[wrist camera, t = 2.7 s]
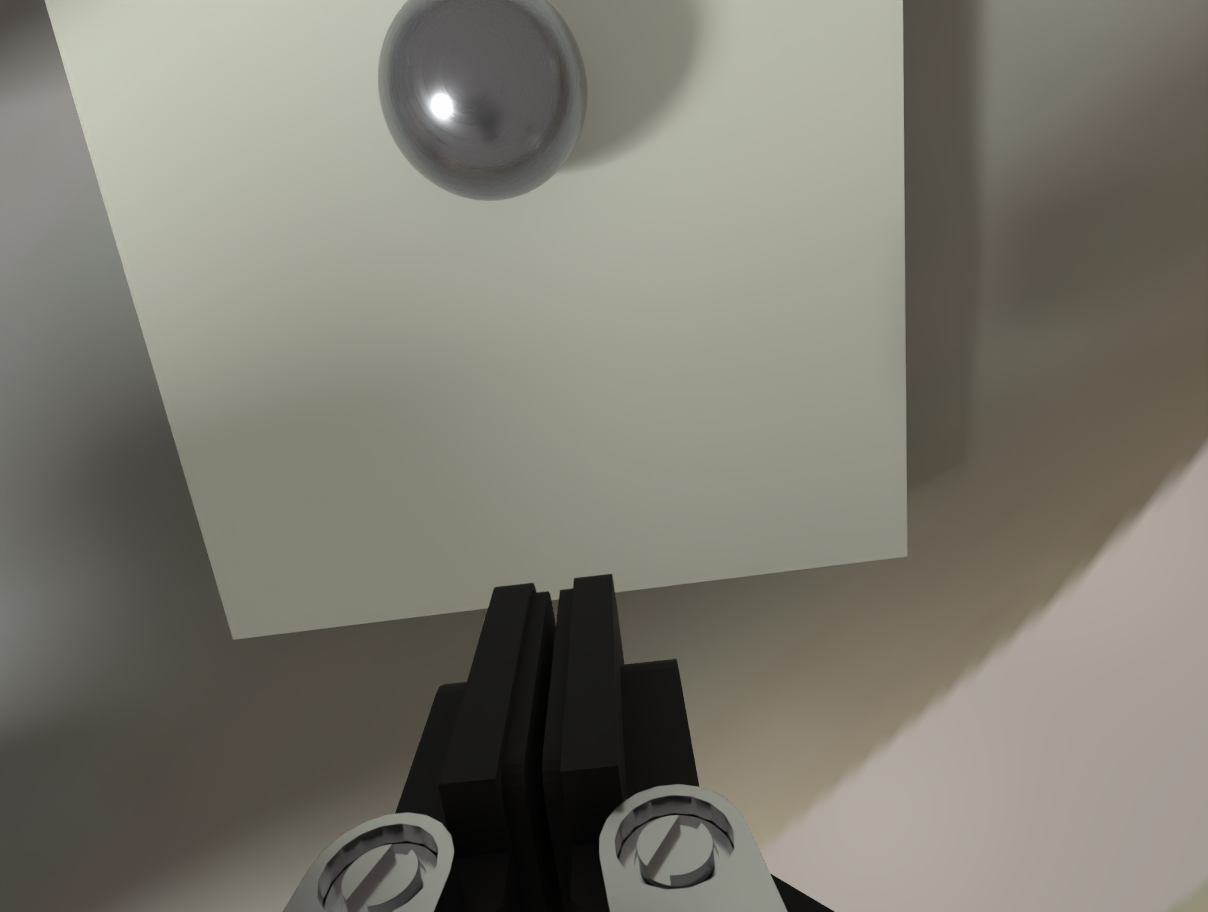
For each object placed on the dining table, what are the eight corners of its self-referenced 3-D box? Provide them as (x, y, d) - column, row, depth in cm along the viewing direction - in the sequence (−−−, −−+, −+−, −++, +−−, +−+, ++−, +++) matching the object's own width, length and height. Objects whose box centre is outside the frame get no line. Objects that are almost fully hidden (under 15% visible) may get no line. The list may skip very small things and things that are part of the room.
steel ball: (597, 192, 17) (601, 181, 13) (422, 214, 17) (377, 209, 13) (574, -6, 16) (571, -79, 12) (387, 19, 16) (327, -47, 12)
